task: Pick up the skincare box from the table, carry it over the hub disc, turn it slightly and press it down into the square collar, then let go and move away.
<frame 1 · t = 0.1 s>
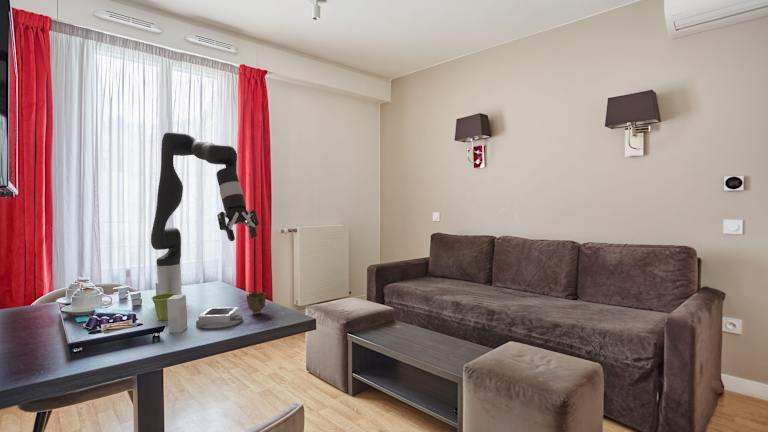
hand: (243, 239, 146), 31 cm above the table, tool tilted 20°, fingers open, 8 cm apart
hub: (219, 322, 153), on the table
skincare box: (178, 330, 146), on the table
plant pot: (166, 318, 160), on the table
cup: (256, 314, 164), on the table
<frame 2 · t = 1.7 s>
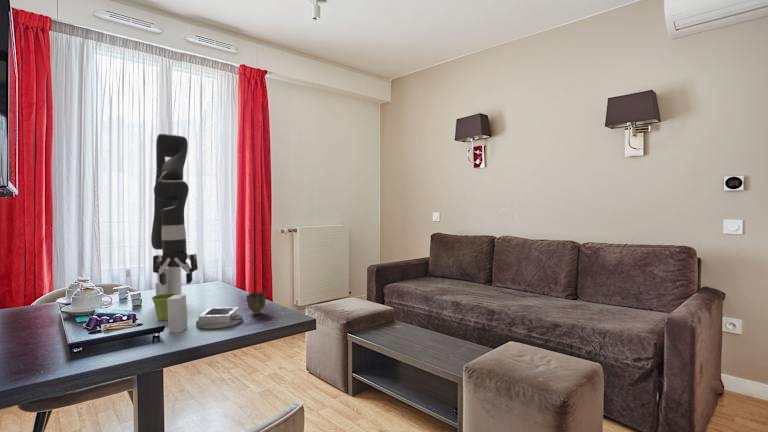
hand: (176, 284, 145), 16 cm above the table, tool pointing down, fingers open, 8 cm apart
nothing on the table moved.
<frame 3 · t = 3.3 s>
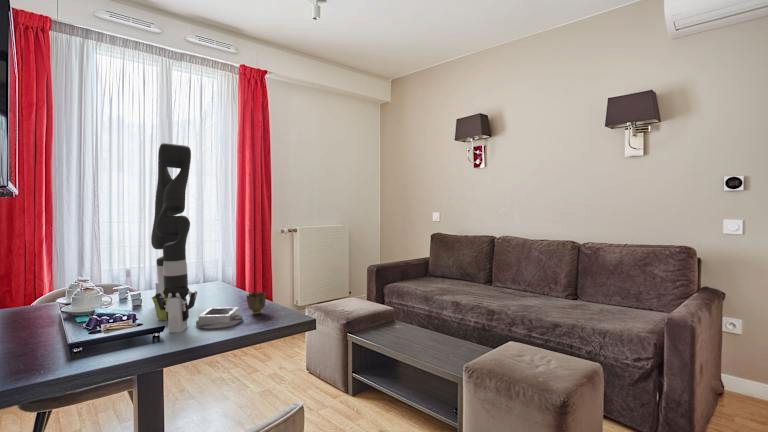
hand: (177, 320, 145), 3 cm above the table, tool pointing down, fingers closed on skincare box, 4 cm apart
skincare box: (178, 330, 146), on the table, touching gripper
everything else where it was.
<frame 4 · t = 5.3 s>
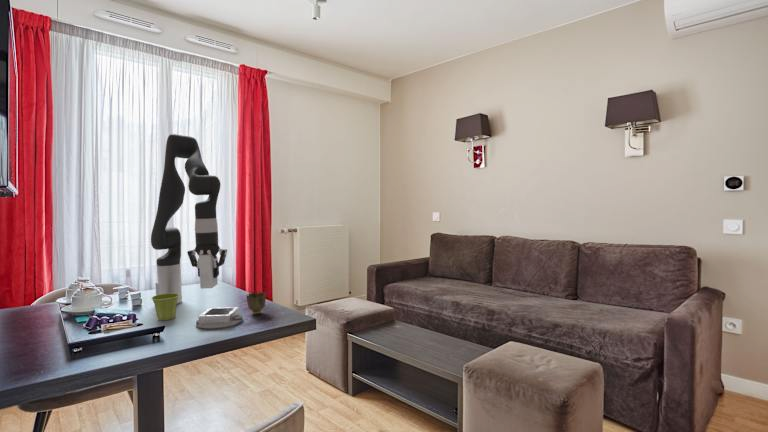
hand: (208, 277, 150), 17 cm above the table, tool pointing down, fingers closed on skincare box, 4 cm apart
skincare box: (208, 287, 150), point 14 cm above the table, touching gripper
everything else where it was.
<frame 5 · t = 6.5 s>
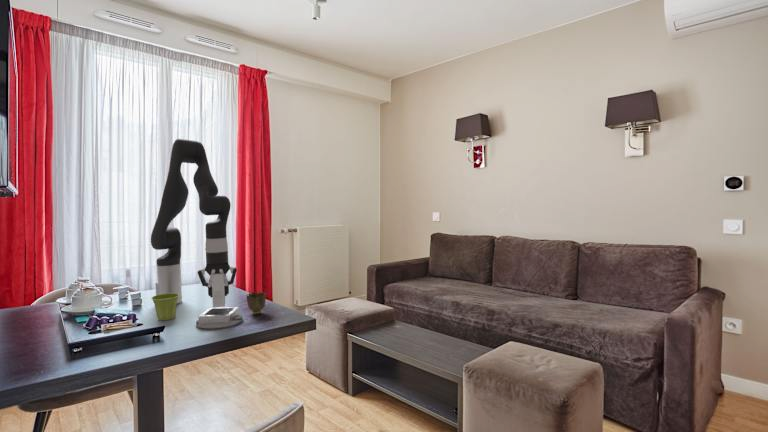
hand: (218, 296, 153), 10 cm above the table, tool pointing down, fingers closed on skincare box, 4 cm apart
skincare box: (219, 305, 153), point 6 cm above the table, touching gripper
everything else where it was.
when the fingers open (6 cm above the table, at t = 7.5 s): skincare box drops 1 cm, resting on hub.
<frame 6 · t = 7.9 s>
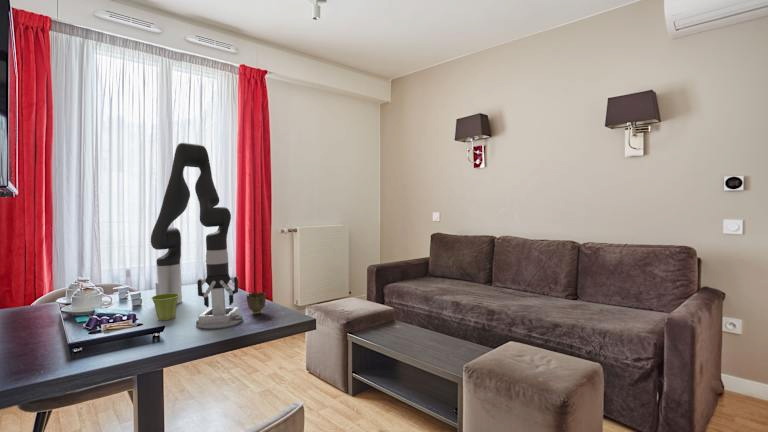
hand: (219, 305, 153), 6 cm above the table, tool pointing down, fingers open, 7 cm apart
skincare box: (219, 319, 153), point 1 cm above the table, touching hub
everything else where it was.
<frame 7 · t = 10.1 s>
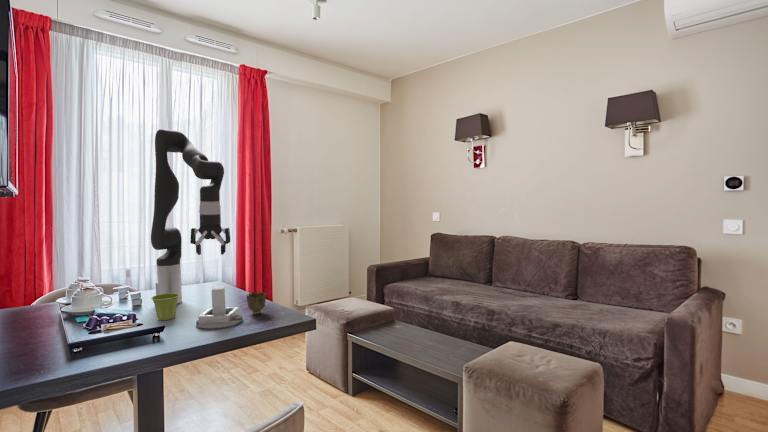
hand: (210, 254, 161), 24 cm above the table, tool pointing down, fingers open, 8 cm apart
nothing on the table moved.
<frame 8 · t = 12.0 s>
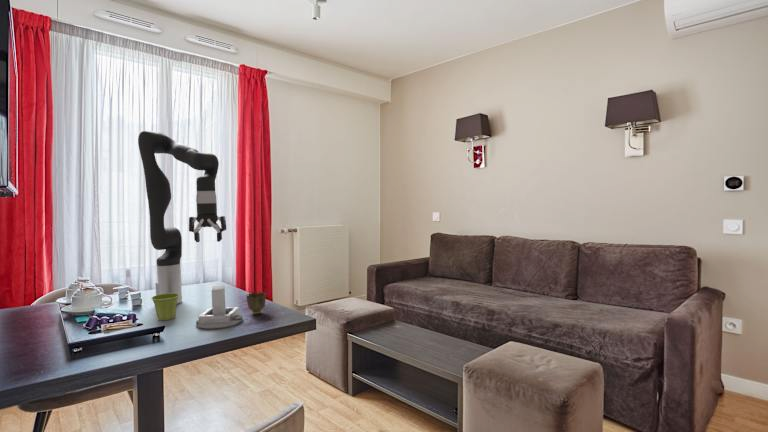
hand: (208, 241, 170), 28 cm above the table, tool pointing down, fingers open, 8 cm apart
nothing on the table moved.
at the end: skincare box 0.1 cm from the hub (horizontally); skincare box tilted 0°; the gripper is holding nothing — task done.
